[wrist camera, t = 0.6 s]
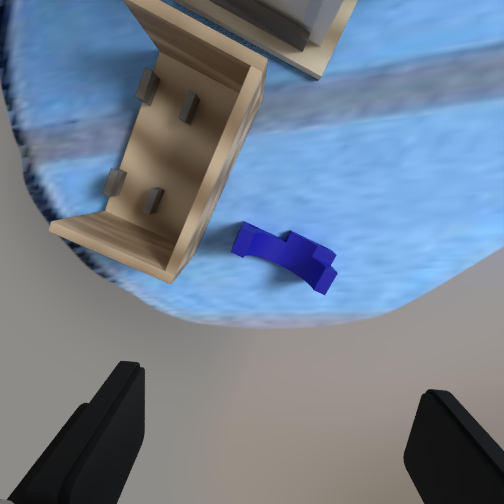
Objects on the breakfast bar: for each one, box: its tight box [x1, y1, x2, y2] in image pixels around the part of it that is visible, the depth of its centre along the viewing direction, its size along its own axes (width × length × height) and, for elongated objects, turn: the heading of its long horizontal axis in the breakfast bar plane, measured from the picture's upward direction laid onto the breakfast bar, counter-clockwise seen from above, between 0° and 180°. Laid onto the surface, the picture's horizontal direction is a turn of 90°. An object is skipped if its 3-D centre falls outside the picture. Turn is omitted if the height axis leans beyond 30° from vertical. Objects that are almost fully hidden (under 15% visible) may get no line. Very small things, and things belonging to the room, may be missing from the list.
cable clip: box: [231, 221, 337, 295], centre depth 35 cm, size 12×4×6 cm, turn 65°
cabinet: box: [49, 0, 268, 284], centre depth 29 cm, size 21×12×11 cm, turn 155°
